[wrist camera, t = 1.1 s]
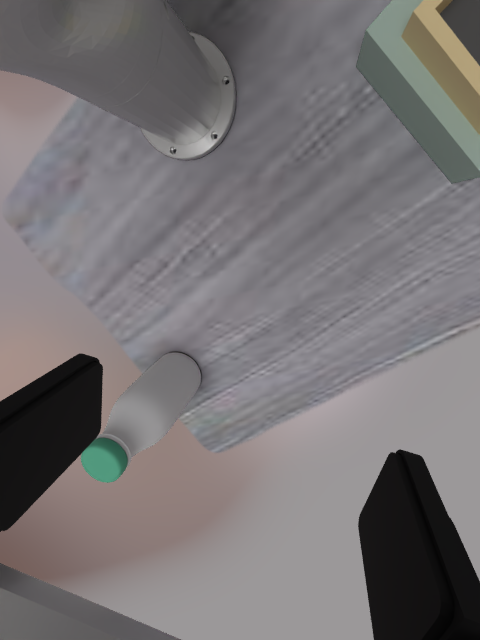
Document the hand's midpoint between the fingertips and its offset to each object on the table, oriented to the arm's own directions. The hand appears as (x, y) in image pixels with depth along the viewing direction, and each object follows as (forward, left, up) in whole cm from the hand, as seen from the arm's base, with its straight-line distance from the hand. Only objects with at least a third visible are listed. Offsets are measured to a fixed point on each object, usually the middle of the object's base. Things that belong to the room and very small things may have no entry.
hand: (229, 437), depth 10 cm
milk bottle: (0, -25, -33) cm, 41 cm away
